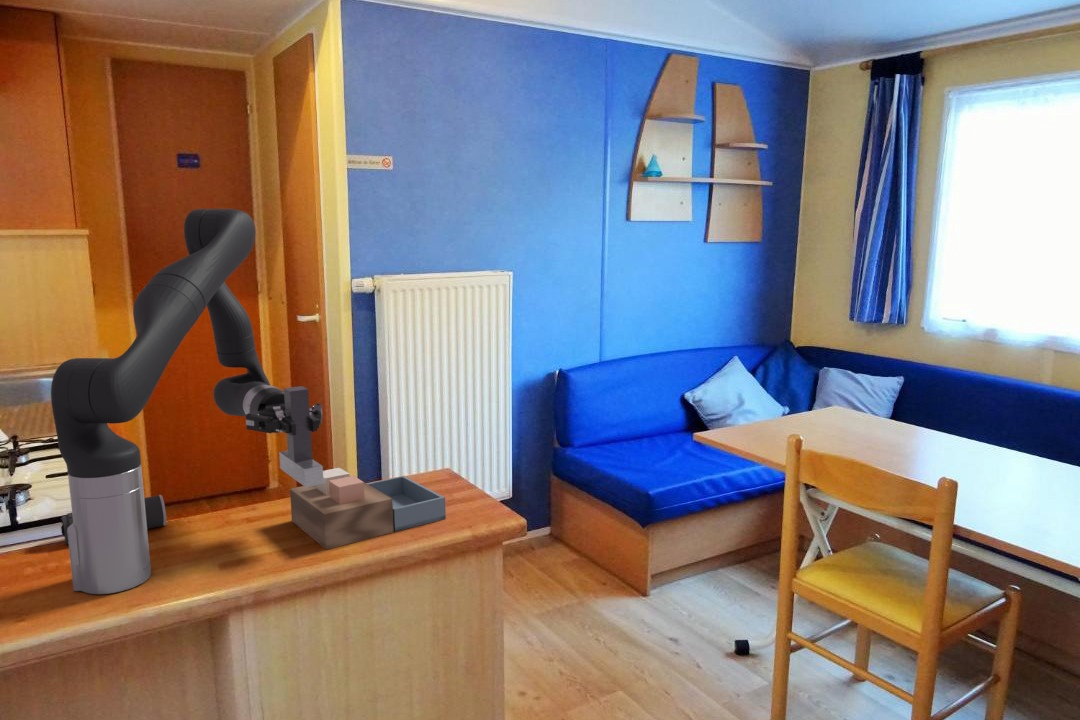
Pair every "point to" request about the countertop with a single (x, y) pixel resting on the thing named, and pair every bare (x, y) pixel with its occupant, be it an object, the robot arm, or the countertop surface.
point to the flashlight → (152, 508)
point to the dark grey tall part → (300, 440)
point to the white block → (331, 478)
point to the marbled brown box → (341, 516)
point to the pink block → (346, 489)
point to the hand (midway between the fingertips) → (304, 427)
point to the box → (411, 502)
